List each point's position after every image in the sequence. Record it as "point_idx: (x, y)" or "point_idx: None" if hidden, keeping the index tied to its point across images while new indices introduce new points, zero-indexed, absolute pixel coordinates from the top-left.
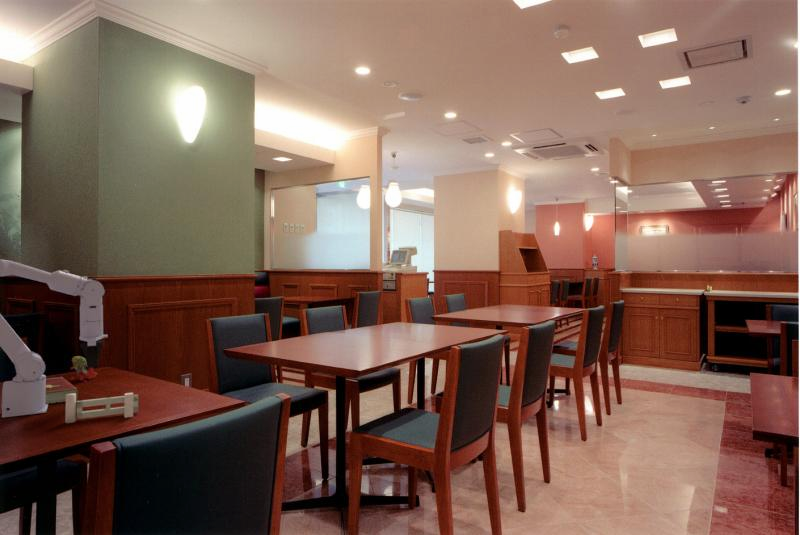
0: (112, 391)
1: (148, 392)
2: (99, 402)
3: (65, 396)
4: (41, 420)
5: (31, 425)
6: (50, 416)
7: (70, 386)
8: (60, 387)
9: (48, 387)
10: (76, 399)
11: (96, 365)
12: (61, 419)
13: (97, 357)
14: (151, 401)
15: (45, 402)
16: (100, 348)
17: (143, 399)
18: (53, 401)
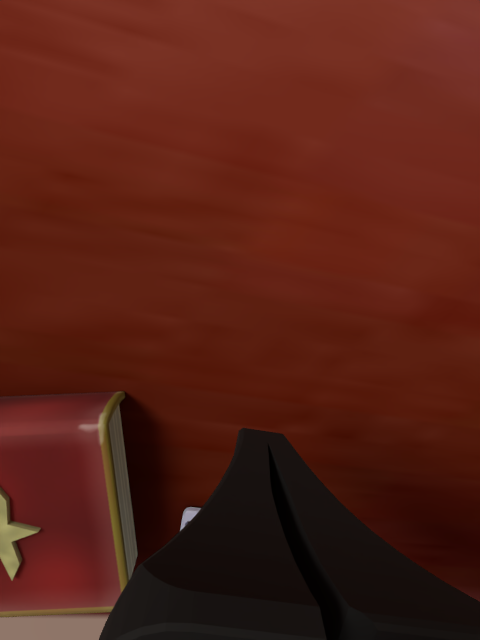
0: (20, 207)
1: (183, 19)
2: None
3: (117, 450)
4: (411, 540)
5: (457, 569)
6: (373, 511)
7: (31, 444)
8: (30, 487)
9: (19, 539)
10: (123, 395)
11: (288, 442)
12: (453, 486)
13: (327, 496)
14: (434, 79)
15: (129, 512)
16: (448, 590)
17: (352, 105)
18: (126, 484)
